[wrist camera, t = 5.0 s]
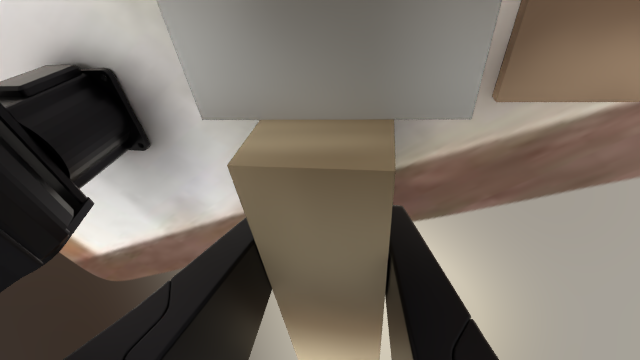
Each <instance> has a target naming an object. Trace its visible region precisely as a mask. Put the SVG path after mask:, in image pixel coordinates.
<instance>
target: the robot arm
mask: <svg viewBox="0 0 640 360" xmlns="http://www.w3.org/2000/svg"><path fill="white" fill-rule="evenodd" d="M106 77H107V78H106ZM149 147H150V143H149V141H148V139H147V137H146V136H145V134H144V132H143V130H142V128H141V126H140V124H139V122H138V120H137V118H136V116H135V114H134V113H133V111H132V109H131V107H130V105H129V103H128V101H127V99H126V97H125V95H124V93H123V91H122V90H121V88H120V86H119V84H118V82H117V80H116V78H115V76H114V75H113V73H112V72H111V71H110V70H108V69H105V68H97V69H80V68H79V67H78V66H75V65H47V66H43V67H40V68H37V69H35V70H32V71H29V72H26V73H24V74H21V75H18V76H15V77H12V78H10V79H7V80H4V81H1V82H0V292H2V291H3V290H4V289H6V288H7V287H9V286H10V285H11V284H13V283H14V282H16V281H17V280H19V279H20V278H22V277H24V276H26V275H28V274H29V273H31V272H33V271H35V270H37V269H38V268H40V267H41V266H43V265H44V264H46V263H47V262H48V261H49V260H51V259H52V258H53V257H54V256H55V255H56V254H57V253H59V251H60V250H61V249H62V248H63V247H64V245H65V244H66V243H67V241H68V240H69V238H70V237H71V236H72V234H73V233H74V231H75V230H76V229H77V227H78V226H79V224H80V223H81V222H82V220H83V219H84V217H85V216H86V215H87V213H88V212H89V210H90V209H91V208H92V206H93V205H94V202H93V201H92V200H91V199H90V198H89V197H86V196H85V195H84V194H83V193H82V191H81V190H80V188H82V187H83V186H84V185H85V184H87V183H88V182H89V181H90V180H92V179H93V178H94V177H95V176H96V175H98V174H99V173H100V172H101V171H103V170H104V169H105V168H106V167H108V166H109V165H110V164H111V163H113V162H114V161H115V160H116V159H118V158H119V157H120V156H121V155H123V154H124V153H125V152H126V151H128V150H141V151H144V150H146V149H148V148H149ZM271 291H272V287H271V284H270V281H269V278H268V276H267V273H266V270H265V267H264V265H263V262H262V259H261V257H260V254H259V251H258V248H257V246H256V243H255V240H254V237H253V235H252V232H251V229H250V226H249V224H248V221H247V218H244V219H243V220H242V221H241V222H240V223H238V224H237V225H236V226H235V227H234V228H232V229H231V230H230V231H229V232H227V233H226V234H225V235H224V236H223V237H221V238H220V239H219V240H218V241H217V242H215V243H214V244H213V245H212V246H210V247H209V248H208V249H207V250H206V251H204V252H203V253H202V254H201V255H199V256H198V257H197V258H196V259H195V260H193V261H192V262H191V263H190V264H189V265H187V266H186V267H185V268H184V269H182V270H181V271H180V272H179V273H178V274H176V275H175V276H174V277H173V278H172V279H171V281H168V282H167V283H165V284H164V285H163V286H162V287H161V288H159V289H158V290H157V291H156V292H154V293H153V294H152V295H151V296H149V297H148V298H147V299H146V300H144V301H143V302H142V303H140V304H139V305H138V306H137V307H135V308H134V309H133V310H131V311H130V312H128V313H127V314H126V315H124V316H123V317H122V318H120V319H119V320H118V321H116V322H115V323H114V324H112V325H111V326H109V327H108V328H107V329H105V330H104V331H102V332H101V333H100V334H99V335H97V336H95V337H94V338H93V339H91V340H90V341H88V342H87V343H86V344H84V345H83V346H81V347H80V348H79V349H77V350H76V351H74V352H73V353H72V354H70V355H69V356H67V357H66V358H64V359H63V360H248V359H249V357H250V354H251V351H252V347H253V345H254V341H255V339H256V336H257V333H258V330H259V326H260V324H261V321H262V318H263V315H264V311H265V309H266V306H267V303H268V299H269V297H270V294H271ZM385 297H386V307H387V317H388V327H389V336H390V347H391V357H392V360H499V359H498V357H497V356H496V354H495V353H494V351H493V350H492V348H491V347H490V345H489V344H488V342H487V341H486V339H485V338H484V336H483V334H482V333H481V331H480V329H479V328H478V326H477V325H476V323H475V322H474V320H473V319H471V315H470V314H469V312H468V310H467V309H466V307H465V306H464V304H463V302H462V301H461V299H460V297H459V296H458V294H457V293H456V291H455V289H454V288H453V286H452V285H451V283H450V281H449V280H448V278H447V277H446V275H445V273H444V272H443V270H442V268H441V267H440V266H439V264H438V262H437V260H436V259H435V257H434V256H433V254H432V252H431V251H430V249H429V247H428V246H427V245H426V243H425V241H424V239H423V238H422V236H421V235H420V233H419V231H418V230H417V228H416V226H415V225H414V223H413V222H412V220H411V218H410V217H409V215H408V214H407V212H406V210H405V209H404V207H403V206H399V205H393V206H392V218H391V230H390V241H389V253H388V265H387V277H386V288H385Z"/></svg>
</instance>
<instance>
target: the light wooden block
mask: <svg viewBox="0 0 640 360" xmlns="http://www.w3.org/2000/svg"><path fill="white" fill-rule="evenodd" d="M156 1H157V3H158V6H159V8H160V11H161V14H162V16H163V19H164V21H165V24H166V27H167V29H168V32H169V34H170V37H171V40H172V42H173V45H174V47H175V50H176V53H177V55H178V58H179V60H180V63H181V66H182V68H183V71H184V73H185V76H186V79H187V81H188V84H189V86H190V89H191V92H192V94H193V97H194V99H195V102H196V105H197V107H198V110H199V112H200V115H201V117H202V120H260V121H259V122H258V124H257V125H256V126H255V128H254V129H253V131H252V132H251V133H250V135H249V136H248V137H247V139H246V140H245V142H244V143H243V144H242V146H241V147H240V148H239V150H238V151H237V153H236V154H235V155H234V157H233V158H232V159H231V161H230V162H229V164H228V165H227V166H228V169H229V172H230V175H231V177H232V180H233V183H234V185H235V188H236V191H237V194H238V196H239V199H240V202H241V205H242V207H243V210H244V213H245V216H246V218H247V221H248V224H249V226H250V229H251V232H252V235H253V237H254V240H255V243H256V246H257V248H258V251H259V254H260V257H261V259H262V262H263V265H264V267H265V270H266V273H267V276H268V278H269V281H270V284H271V287H272V289H273V292H274V295H275V298H276V300H277V303H278V306H279V308H280V311H281V314H282V317H283V319H284V322H285V325H286V328H287V330H288V333H289V335H290V339H291V341H292V344H293V347H294V349H295V352H296V355H297V358H298V360H379V359H380V346H381V335H382V324H383V311H384V300H385V288H386V277H387V265H388V253H389V241H390V230H391V218H392V206H393V194H394V182H395V136H394V119H472V115H473V111H474V107H475V103H476V99H477V96H478V92H479V88H480V84H481V80H482V76H483V72H484V68H485V64H486V60H487V56H488V52H489V49H490V45H491V41H492V37H493V33H494V29H495V25H496V21H497V17H498V13H499V9H500V5H501V2H502V0H156Z"/></svg>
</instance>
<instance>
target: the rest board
mask: <svg viewBox="0 0 640 360" xmlns="http://www.w3.org/2000/svg"><path fill="white" fill-rule="evenodd" d="M492 97H493V98H494V100H495V101H496V102H640V0H522V1H521V4H520V8H519V11H518V14H517V17H516V21H515V24H514V27H513V30H512V34H511V37H510V40H509V43H508V47H507V50H506V53H505V56H504V60H503V63H502V66H501V69H500V73H499V76H498V79H497V82H496V86H495V89H494V92H493V95H492Z"/></svg>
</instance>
